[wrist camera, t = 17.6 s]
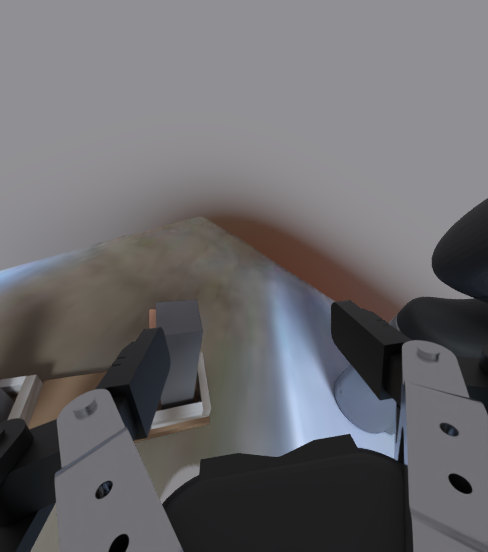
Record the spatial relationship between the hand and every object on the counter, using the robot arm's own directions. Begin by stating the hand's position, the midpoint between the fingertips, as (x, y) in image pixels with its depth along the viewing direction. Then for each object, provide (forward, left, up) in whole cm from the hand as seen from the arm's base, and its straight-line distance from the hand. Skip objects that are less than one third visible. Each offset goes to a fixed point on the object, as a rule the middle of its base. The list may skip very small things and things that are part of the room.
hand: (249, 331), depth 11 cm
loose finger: (+8, -5, -25) cm, 27 cm away
